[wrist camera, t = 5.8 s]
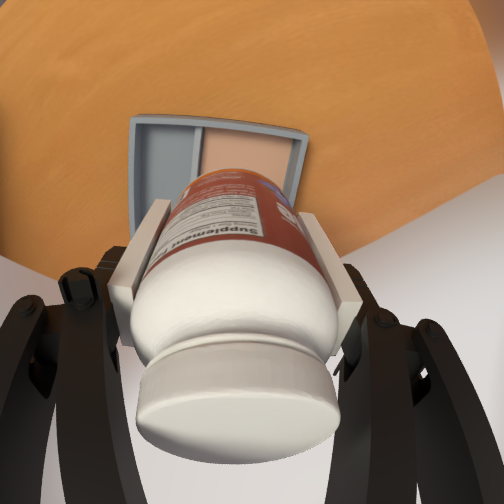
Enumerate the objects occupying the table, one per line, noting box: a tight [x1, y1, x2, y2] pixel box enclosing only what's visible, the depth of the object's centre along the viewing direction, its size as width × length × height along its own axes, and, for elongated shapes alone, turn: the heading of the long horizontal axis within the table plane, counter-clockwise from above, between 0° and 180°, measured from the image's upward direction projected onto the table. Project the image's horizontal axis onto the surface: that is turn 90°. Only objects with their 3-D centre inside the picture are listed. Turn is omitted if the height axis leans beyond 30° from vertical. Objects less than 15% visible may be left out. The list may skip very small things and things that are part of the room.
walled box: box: [128, 114, 309, 240], centre depth 29 cm, size 17×14×4 cm
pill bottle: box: [130, 167, 341, 464], centre depth 10 cm, size 6×6×11 cm
